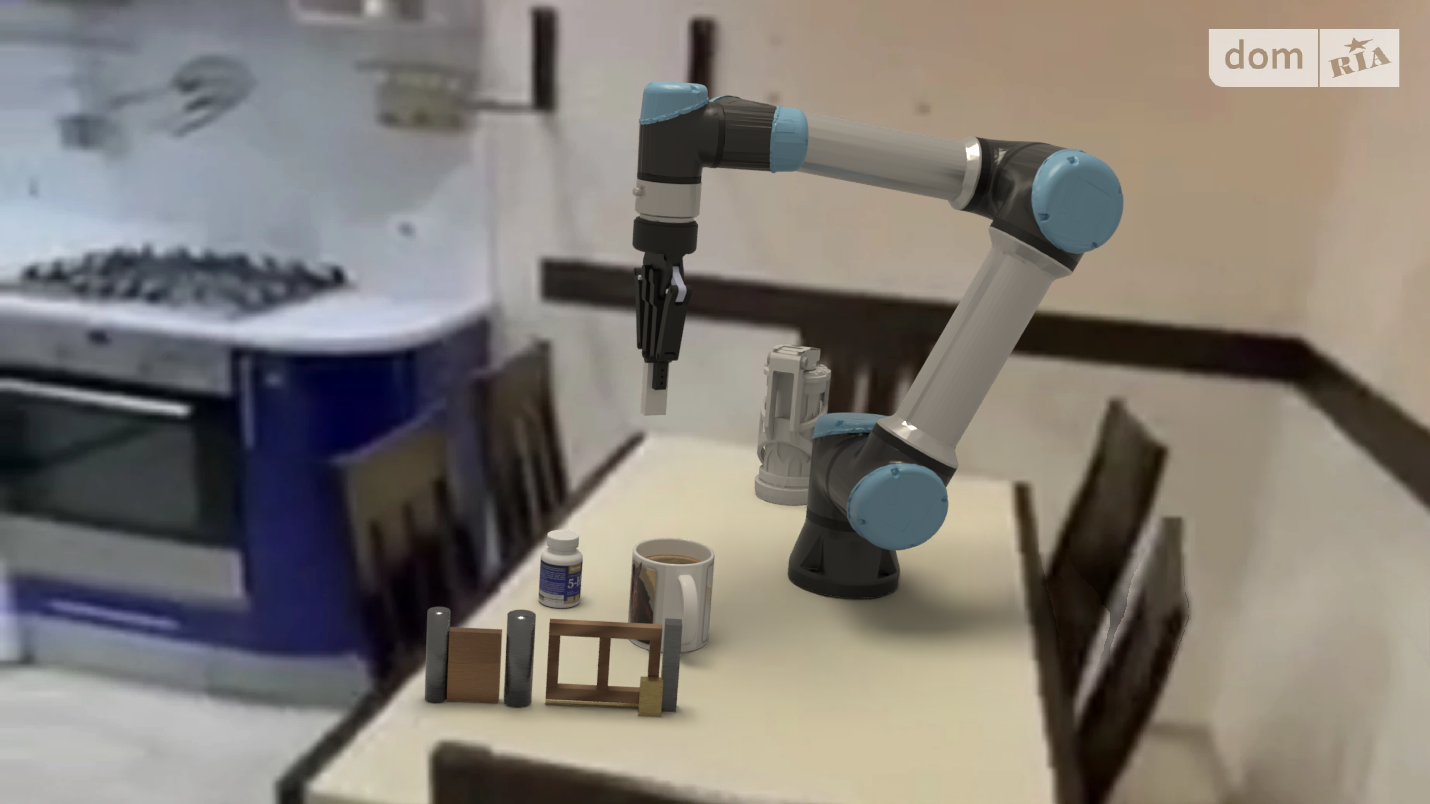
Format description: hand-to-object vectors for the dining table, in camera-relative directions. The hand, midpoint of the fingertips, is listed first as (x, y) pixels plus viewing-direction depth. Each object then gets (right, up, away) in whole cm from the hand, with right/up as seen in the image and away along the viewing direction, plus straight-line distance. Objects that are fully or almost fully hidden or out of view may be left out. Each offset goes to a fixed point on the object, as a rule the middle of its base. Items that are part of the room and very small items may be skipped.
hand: (653, 413), depth 190 cm
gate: (-5, -31, -18) cm, 36 cm away
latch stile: (+1, -32, -18) cm, 37 cm away
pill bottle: (-12, -24, +10) cm, 29 cm away
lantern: (+18, -14, +60) cm, 64 cm away
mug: (+2, -27, +1) cm, 28 cm away
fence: (-11, -31, -19) cm, 38 cm away
